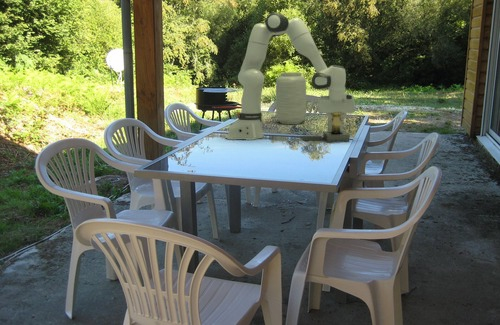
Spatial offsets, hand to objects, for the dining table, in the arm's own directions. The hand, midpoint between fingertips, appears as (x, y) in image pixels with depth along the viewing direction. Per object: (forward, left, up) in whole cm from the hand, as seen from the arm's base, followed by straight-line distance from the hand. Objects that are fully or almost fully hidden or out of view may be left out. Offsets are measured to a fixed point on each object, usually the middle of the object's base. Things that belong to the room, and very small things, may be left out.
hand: (336, 121), depth 271 cm
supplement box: (+4, +21, -11) cm, 24 cm away
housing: (0, 0, -11) cm, 11 cm away
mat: (-12, +6, -11) cm, 17 cm away
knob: (0, 0, -6) cm, 6 cm away
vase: (-17, +66, -11) cm, 69 cm away
